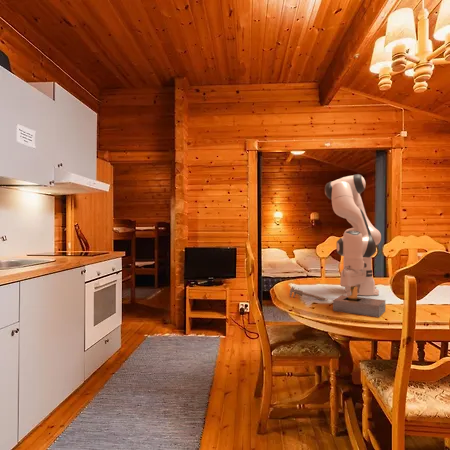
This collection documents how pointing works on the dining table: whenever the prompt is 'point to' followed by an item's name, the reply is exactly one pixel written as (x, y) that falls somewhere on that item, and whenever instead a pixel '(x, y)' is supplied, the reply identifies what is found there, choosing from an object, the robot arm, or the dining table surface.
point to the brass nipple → (353, 294)
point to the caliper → (304, 294)
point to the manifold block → (359, 306)
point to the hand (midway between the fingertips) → (353, 294)
